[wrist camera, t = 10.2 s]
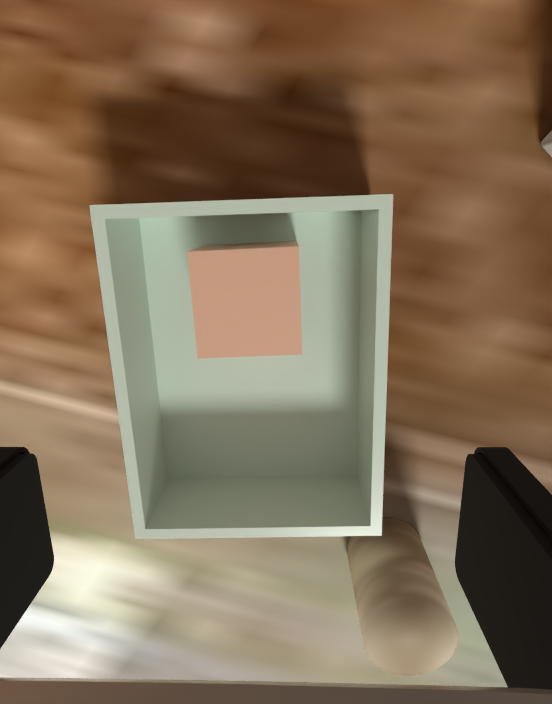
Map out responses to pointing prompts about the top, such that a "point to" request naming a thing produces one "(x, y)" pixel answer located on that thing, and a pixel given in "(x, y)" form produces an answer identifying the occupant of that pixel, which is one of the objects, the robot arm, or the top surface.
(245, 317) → the terracotta cube
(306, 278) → the sage tote
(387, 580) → the birch cylinder
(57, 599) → the top surface
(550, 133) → the skincare box
